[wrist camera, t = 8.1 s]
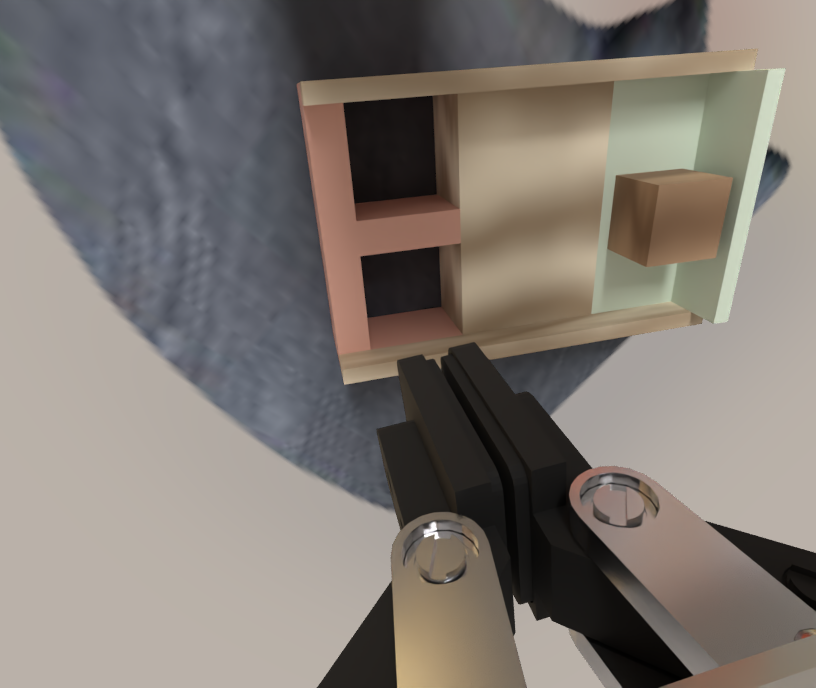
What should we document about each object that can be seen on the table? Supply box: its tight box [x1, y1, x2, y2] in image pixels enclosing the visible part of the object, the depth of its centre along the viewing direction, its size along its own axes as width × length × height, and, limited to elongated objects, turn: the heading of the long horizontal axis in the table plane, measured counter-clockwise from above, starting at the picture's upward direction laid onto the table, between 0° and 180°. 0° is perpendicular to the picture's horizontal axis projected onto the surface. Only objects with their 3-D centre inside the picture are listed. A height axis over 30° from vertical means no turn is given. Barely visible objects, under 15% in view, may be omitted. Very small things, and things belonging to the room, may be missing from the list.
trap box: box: [297, 49, 785, 385], centre depth 31 cm, size 16×24×9 cm, turn 94°
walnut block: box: [607, 169, 733, 267], centre depth 30 cm, size 4×4×4 cm
